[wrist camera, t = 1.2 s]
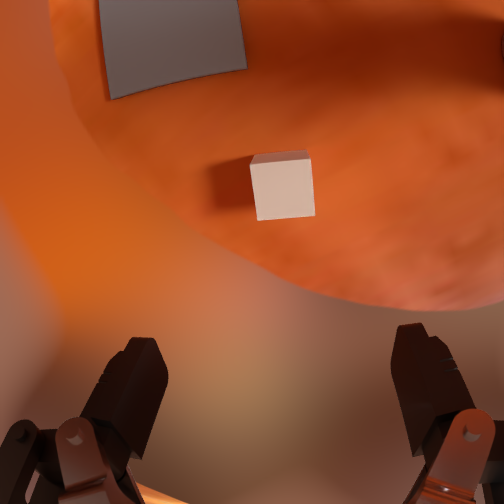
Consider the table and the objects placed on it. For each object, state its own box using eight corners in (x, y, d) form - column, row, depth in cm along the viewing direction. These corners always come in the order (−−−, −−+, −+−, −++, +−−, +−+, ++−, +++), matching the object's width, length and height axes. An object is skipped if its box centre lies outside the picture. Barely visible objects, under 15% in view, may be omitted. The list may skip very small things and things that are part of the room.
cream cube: (306, 149, 29) (310, 158, 25) (310, 198, 32) (315, 215, 27) (254, 154, 30) (249, 164, 26) (261, 202, 32) (257, 220, 28)
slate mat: (224, -75, 18) (222, -80, 17) (247, 69, 26) (246, 67, 25) (101, -37, 20) (97, -39, 19) (115, 99, 28) (110, 99, 27)
